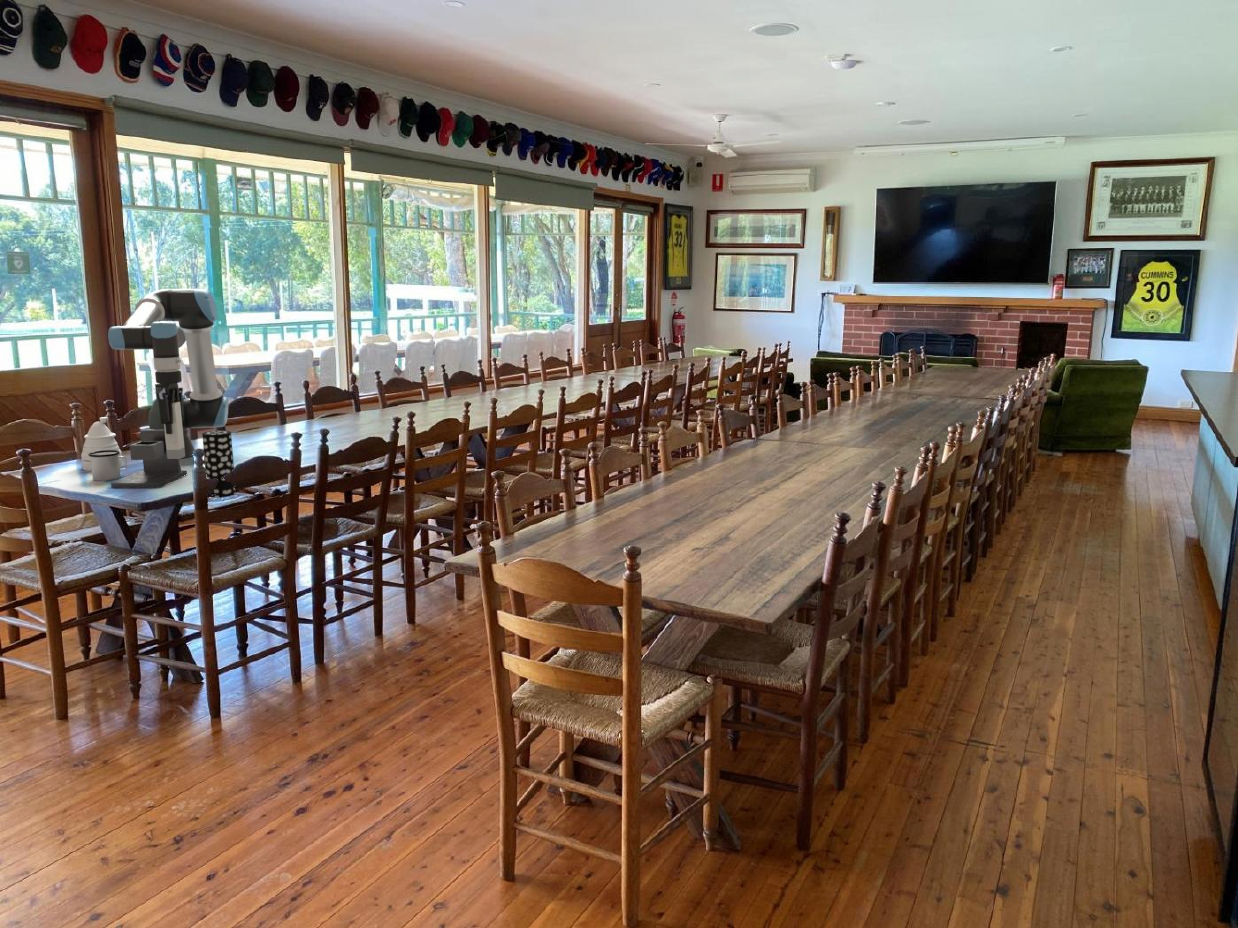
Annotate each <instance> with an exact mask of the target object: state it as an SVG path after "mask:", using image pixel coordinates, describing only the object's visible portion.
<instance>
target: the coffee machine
mask: <svg viewBox="0 0 1238 928" xmlns="http://www.w3.org/2000/svg"><path fill="white" fill-rule="evenodd" d="M139 434H140V435H139V437H140V441H137V442H135V443H132V444H129V452H130V460H131V461H142V464H143V465H142V466H143V469H142V470H138V471H136V472H134V473H131V474H129V475H127V476H124V477H122V478H118V479H116V480H115V481H113V482H110V487H111V488H113V489H114V488H116V489H117V488H119V489H120V488H123V489H124V488H127V489H128V488H129V489H130V488H131V489H134V488H139V489H140V488H145V489H147V488H162V487H164V486H166V484H167V485H168V483H169V484H170V482H171V483H172V482H175V481H177V480H179V479H181V478H183V477H185V476H187V475H188V470H182V468H181V467H182V466H181V459H167V449H166V439H165V430H150V429H139ZM186 474H187V475H186ZM184 475H185V476H184ZM182 476H183V477H182Z"/></svg>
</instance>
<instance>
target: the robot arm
mask: <svg viewBox="0 0 1238 928" xmlns="http://www.w3.org/2000/svg"><path fill="white" fill-rule="evenodd" d="M134 307H135V308H134V312H133V313H132V314H131V315H130V316H129V318H128V319H127V320H126V321H125V322H124V324H123V325H122V326H121V325H117V326H116V325H115V326H110V327H109V329H108V333H107V334H108V335H107V336H108V337H107V339H108V344H109V346H110V347H111V348H112V350H117V351H118V350H121V351H126V350H127V351H131V350H132V351H133V350H134V351H135V350H152V353H153V355H152V356H153V367H154V370H155V372H154V376H155V382H156V384H161V392H160V393H157V398H158V403H159V411H160V419H161V424H165V430H166V440H167V444H176V435H175V424H173V409H172V404H173V403H174V402H180V406H181V416H182V427H183V437H184V448H185V457H183V458H184V459H185V458H189V457H193V456H192V454H193V451H194V450H195V451H196V449H195V446H194V444H193V441H192V439H191V437H190V435H189V429H206V428H207V429H208V428H209V429H210V428H212V429H214V428H222V427H225V426H226V424H227V422H228V416H229V398H228V397H227V396H224V394H223V391H222V390H221V389H219V388H218V383H217V374H216V366H215V360H214V353H213V345H212V344H213V342H212V337H211V329H212V328H213V326H214V322H216V321H217V320H218V313H217V312H218V310H217V304H216V301H215V298H214V296H213V294H212V292H211V291H209V289H203V288H201V289H200V288H164V289H158V290H155V291H152V292H150V293H148V294H146V295H144V296H143V297H142V298H141V299H139V300H138V301H137V302H136V304H135V306H134ZM176 322H178V325H177V323H176ZM184 344H185V345H186V350H187V356H188V365H189V369H190V379H191V384H192V385H191V386H192V391H191V392H190V393H189V397H187V396H186V395H185V394H184V393H183V391H184V388H183V387H179V383H182V381H183V379H182V378H183V377H182V371H181V370H180V369H181V362H182V361H181V358H180V348H182V347H183V346H184ZM155 401H156V398H155V399H154V400H152V402H151V405H152V406H153V404H154V402H155ZM152 406H151V407H152ZM183 458H182V459H183Z"/></svg>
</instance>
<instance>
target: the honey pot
mask: <svg viewBox="0 0 1238 928" xmlns="http://www.w3.org/2000/svg"><path fill="white" fill-rule="evenodd" d="M99 420H100V421H95V422H94V423H93V424H92V425H91V426H90V427H89V430H88V432H87V434H85V435H84V437H83V438H84V439H85V441H84V443H83V446H82V447H83V448H82V452H81V454H80V457H81V466H82V470H84V471H89V472H92V467H91V458H90V456H88V454H89V453H91V452H95V451H102V450H117V451H120V454H118V457H120V456H123V455H122V450H121V449H120V446H119V445H118V442H117V440H116V439H115V437H116V435H117V434H116V433H114V432H111V430H110V429H109V427H108V426H106V423H107V422H108V420H109V417H108V416H104V417H103V416H102V417H99ZM123 462H124V461H123V458H119V467H120V468H122V467H123V466H124V463H123Z"/></svg>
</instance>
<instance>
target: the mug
mask: <svg viewBox="0 0 1238 928" xmlns="http://www.w3.org/2000/svg"><path fill="white" fill-rule="evenodd" d="M118 454H120V451H117V450H102V451H95V452H91V453H89V454H88V456H90V458H91V467H92V471H91V475H92V480H93V481H96V482H105V481H106V482H108V481H114V480H119V479H121V471H125V470H127V467H128V465H127V457H126V456H124V455H122V456H120V457H118ZM119 458H122V459H123V460H124V461H123V462H124V467H123V468H121V467H119Z"/></svg>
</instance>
